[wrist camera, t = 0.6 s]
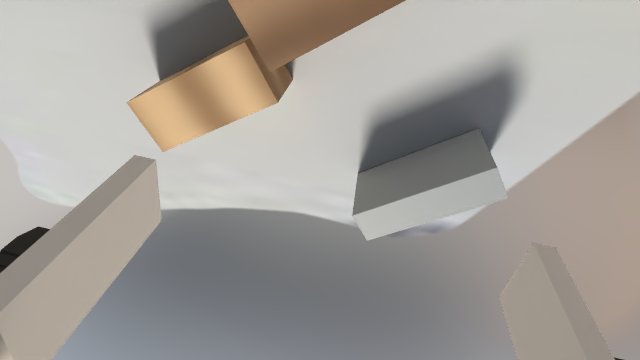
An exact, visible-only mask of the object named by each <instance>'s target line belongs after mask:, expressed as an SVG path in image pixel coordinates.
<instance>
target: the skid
mask: <svg viewBox="0 0 640 360" xmlns="http://www.w3.org/2000/svg"><path fill="white" fill-rule="evenodd" d="M292 80H293V79H292V77H291V75H290V73H289V71H288V69H287V67H286V65H283V66H281V67H279V68H277V69H275V70H273V71H271V72H270V71H269V69H268V68H267V66H266V64H265V63H264V61H263V59H262V57H261V56H260V54H259V52H258V51H257V49H256V47H255V46H254V44H253V42H252V40H251V39H250V37H249V35H248V36H246V37H244V38H242V39H240V40H238V41H236V42H234V43H232V44H230V45H228V46H226V47H225V48H223V49H221V50H219V51H217V52H215V53H213V54H211V55H209V56H207V57H205V58H203V59H201V60H199V61H198V62H196V63H194V64H192V65H190V66H188V67H186V68H184V69H182V70H180V71H178V72H176V73H174V74H172V75H170V76H169V77H167V78H165V79H163V80H161V81H159V82H158V83H156V84H154V85H153V86H151V87H150V88H148V89H147V90H145V91H144V92H142V93H141V94H139V95H137V96H136V97H134V98H133V99H131V100H130V101H128V102H127V104H128V105H129V107H130V108H131V109H132V111H133V112H134V113H135V115H136V116H137V118H138V119H139V120H140V122H141V123H142V124H143V126H144V127H145V128H146V130H147V131H148V132H149V134H150V135H151V137H152V138H153V139H154V141H155V142H156V143H157V145H158V146H159V147H160V149H161V150H162V151H163V152H164V151H166V150H169V149H171V148H173V147H176V146H178V145H180V144H183V143H185V142H187V141H190V140H192V139H194V138H197V137H199V136H201V135H204V134H206V133H208V132H211V131H213V130H215V129H218V128H220V127H222V126H224V125H227V124H229V123H231V122H234V121H236V120H238V119H241V118H243V117H245V116H248V115H250V114H252V113H255V112H257V111H259V110H262V109H264V108H266V107H269V106H271V105H273V104H276V103H278V102H279V100H280V98H281V97H282V95H283V94H284V92H285V91H286V89H287V88H288V86H289V85H290V83H291V82H292Z"/></svg>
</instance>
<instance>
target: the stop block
mask: <svg viewBox="0 0 640 360" xmlns="http://www.w3.org/2000/svg"><path fill="white" fill-rule="evenodd" d="M507 198H508V196H507V193H506V191H505V188H504V185H503V182H502V180H501V177H500V174H499V171H498V168H497V166H496V164H495V162H494V160H493V157H492V155H491V153H490V151H489V149H488V146H487V144H486V142H485V140H484V138H483V135H482V133H481V131H480V129H479V128H478V129H475V130H472V131H470V132H467V133H464V134H462V135H459V136H456V137H454V138H451V139H448V140H446V141H443V142H440V143H438V144H435V145H432V146H430V147H427V148H424V149H422V150H419V151H416V152H414V153H411V154H408V155H406V156H403V157H400V158H398V159H395V160H392V161H390V162H387V163H384V164H382V165H379V166H376V167H374V168H371V169H368V170H366V171H363V172H360V173H358V177H357V184H356V192H355V200H354V207H353V215H352V216H353V218H354V219H355V221H356V223H357V224H358V226H359V228H360V229H361V231H362V233H363V234H364V236H365V238H366V239H367V241H368V240H371V239H374V238H378V237H381V236H384V235H387V234H391V233H394V232H397V231H401V230H404V229H407V228H411V227H414V226H417V225H421V224H424V223H427V222H431V221H434V220H437V219H441V218H444V217H447V216H450V215H454V214H457V213H460V212H464V211H467V210H470V209H474V208H477V207H480V206H484V205H487V204H490V203H494V202H497V201H500V200H504V199H507Z"/></svg>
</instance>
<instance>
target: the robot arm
mask: <svg viewBox="0 0 640 360" xmlns="http://www.w3.org/2000/svg"><path fill="white" fill-rule="evenodd" d="M160 221H161V210H160V199H159V188H158V177H157V166H156V160H154V159H150V158H145V157H141V156H136V155H134V156H133V157H132V158H131V159H130V160H129V161H128V162H126V163H125V164H124V165H123V166H122V167H121V168H120V169H118V170H117V171H116V172H115V173H114V174H113V175H112V176H110V177H109V178H108V179H107V180H106V181H105V182H104V183H103V184H101V185H100V186H99V187H98V188H97V189H96V190H95V191H93V192H92V193H91V194H90V195H89V196H88V197H87V198H85V199H84V200H83V201H82V202H81V203H80V204H79V205H77V206H76V207H75V208H74V209H73V210H72V211H71V212H69V213H68V214H67V215H66V216H65V217H64V218H63V219H62V220H61V221H59V222H58V223H57V224H56V225H55V226H54V227H52V228H51V229H46V228H42V227H36V228H34V229H32V230H30V231H28V232H26V233H24V234H22V235H20V236H18V237H17V238H15V239H14V240H13V241H11V242H10V243H9V244H8V245H6V246H5V247H4V248H3V249H2V250H1V252H0V360H51V359H52V358H53V357H54V356H55V354H56V353H57V352H58V351H59V349H60V348H61V347H62V345H63V344H64V343H65V342H66V340H67V339H68V338H69V337H70V335H71V334H72V333H73V332H74V330H75V329H76V328H77V327H78V325H79V324H80V323H81V321H82V320H83V319H84V318H85V316H86V315H87V314H88V312H89V311H90V310H91V309H92V308H93V306H94V305H95V304H96V302H97V301H98V300H99V299H100V297H101V296H102V295H103V294H104V292H105V291H106V290H107V288H108V287H109V286H110V285H111V283H112V282H113V281H114V280H115V278H116V277H117V276H118V275H119V273H120V272H121V271H122V270H123V268H124V267H125V266H126V264H127V263H128V262H129V261H130V259H131V258H132V257H133V256H134V254H135V253H136V252H137V250H138V249H139V248H140V247H141V246H142V244H143V243H144V242H145V240H146V239H147V238H148V236H149V235H150V234H151V233H152V231H153V230H154V229H155V228H156V227H157V225H158V224H159V223H160ZM499 298H500V301H501V305H502V308H503V311H504V315H505V318H506V321H507V325H508V328H509V331H510V335H511V337H512V341H513V344H514V347H515V351H516V354H517V358H518V360H622V359H618V358H614V357H613V355H612V353H611V351H610V349H609V347H608V345H607V344H606V342H605V340H604V338H603V336H602V334H601V332H600V331H599V328H598V326H597V325H596V323H595V321H594V319H593V317H592V315H591V313H590V311H589V310H588V307H587V306H586V304H585V302H584V300H583V298H582V296H581V294H580V293H579V290H578V289H577V287H576V285H575V283H574V281H573V279H572V277H571V276H570V273H569V271H568V270H567V268H566V266H565V264H564V262H563V260H562V258H561V256H560V255H559V253H558V251H557V249H556V248H555V247H550V246H546V245H541V244H537V243H533V244H532V245H531V247H530V248H529V250H528V251H527V253H526V255H525V256H524V258H523V259H522V261H521V263H520V264H519V266H518V267H517V269H516V270H515V272H514V274H513V275H512V277H511V279H510V280H509V282H508V283H507V285H506V286H505V288H504V289H503V291H502V293H501V294H500V296H499Z"/></svg>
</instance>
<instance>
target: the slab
mask: <svg viewBox="0 0 640 360" xmlns="http://www.w3.org/2000/svg"><path fill="white" fill-rule="evenodd" d="M228 1H229V3H230V5H231V7H232V8H233V10H234V12H235V13H236V15H237V17H238V18H239V20H240V22H241V24H242V25H243V27H244V29H245V30H246V32H247V34H248V35H249V37H250V39H251V40H252V42H253V44H254V46H255V47H256V49H257V51H258V52H259V54H260V56H261V57H262V59H263V61H264V63H265V64H266V66H267V68H268V69H269V71H270V72H271V71H273V70H275V69H277V68H279V67H281V66H283V65H285V64H286V63H288V62H290V61H292V60H294V59H296V58H298V57H300V56H302V55H303V54H305V53H307V52H309V51H311V50H313V49H315V48H317V47H319V46H320V45H322V44H324V43H326V42H328V41H330V40H332V39H334V38H335V37H337V36H339V35H341V34H343V33H345V32H347V31H349V30H351V29H352V28H354V27H356V26H358V25H360V24H362V23H364V22H366V21H368V20H369V19H371V18H373V17H375V16H377V15H379V14H381V13H383V12H385V11H386V10H388V9H390V8H392V7H394V6H396V5H398V4H400V3H401V2H403V1H405V0H228Z"/></svg>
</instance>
